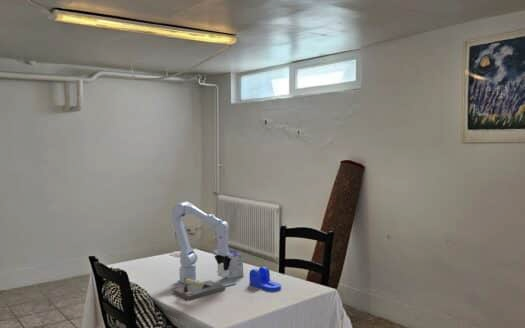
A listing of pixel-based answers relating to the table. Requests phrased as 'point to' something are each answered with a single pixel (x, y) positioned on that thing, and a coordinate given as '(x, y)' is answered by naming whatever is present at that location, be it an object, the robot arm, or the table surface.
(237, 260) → the ink cartridge box
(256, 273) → the bracket
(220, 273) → the plug
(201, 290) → the grey panel
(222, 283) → the mat
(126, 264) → the table surface
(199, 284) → the brass flat bar
